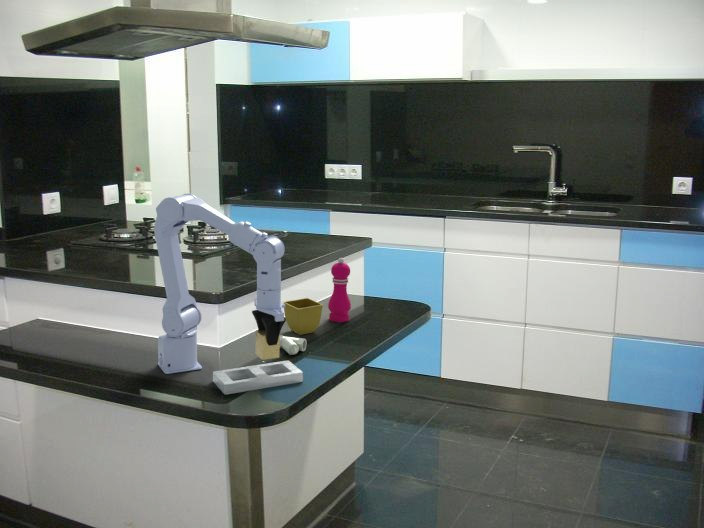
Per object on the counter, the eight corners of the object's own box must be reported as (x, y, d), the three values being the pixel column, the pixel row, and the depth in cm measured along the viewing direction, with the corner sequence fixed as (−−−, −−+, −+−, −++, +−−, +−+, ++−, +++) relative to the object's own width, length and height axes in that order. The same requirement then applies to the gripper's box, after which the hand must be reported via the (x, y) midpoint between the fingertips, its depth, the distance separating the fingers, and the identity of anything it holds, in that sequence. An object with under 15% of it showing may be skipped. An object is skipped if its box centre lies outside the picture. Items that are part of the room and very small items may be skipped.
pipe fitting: (297, 358, 197) (306, 349, 203) (297, 345, 196) (306, 336, 202) (270, 354, 199) (279, 345, 205) (270, 341, 198) (279, 332, 204)
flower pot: (297, 338, 211) (298, 308, 209) (282, 330, 218) (282, 301, 216) (322, 333, 216) (323, 304, 214) (306, 325, 223) (307, 297, 221)
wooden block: (261, 359, 175) (262, 335, 174) (255, 353, 179) (255, 330, 178) (279, 357, 177) (279, 334, 176) (272, 351, 181) (273, 328, 180)
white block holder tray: (224, 394, 170) (224, 384, 170) (212, 381, 178) (212, 371, 177) (302, 381, 180) (303, 372, 179) (288, 369, 187) (288, 360, 187)
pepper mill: (325, 316, 233) (326, 255, 229) (346, 315, 235) (348, 255, 231) (331, 323, 226) (333, 260, 222) (353, 322, 229) (355, 260, 224)
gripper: (296, 293, 170) (295, 348, 173) (273, 279, 183) (272, 331, 186) (268, 296, 167) (267, 352, 170) (246, 281, 179) (246, 334, 182)
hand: (268, 341), depth 178 cm, fingers closed on wooden block, 4 cm apart
